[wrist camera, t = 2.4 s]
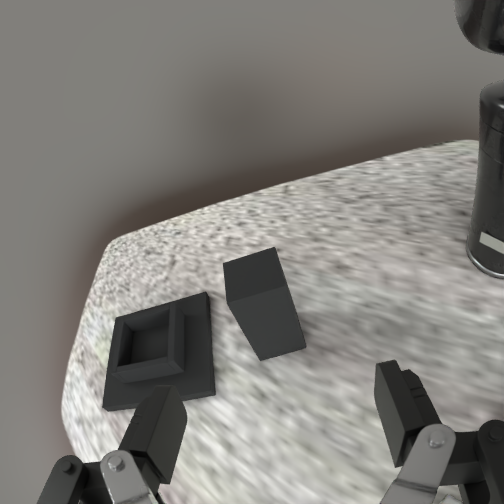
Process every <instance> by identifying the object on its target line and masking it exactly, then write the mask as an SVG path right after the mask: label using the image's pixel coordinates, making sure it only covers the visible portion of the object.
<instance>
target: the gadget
mask: <svg viewBox="0 0 504 504" xmlns="http://www.w3.org/2000/svg"><path fill="white" fill-rule="evenodd" d="M440 504H463V502H461V501H459V500H457V499H456V498H454V497H452V496H450V495H448V494H447V495H446V496H445V498H444V499H443V500H442V501H441V503H440Z"/></svg>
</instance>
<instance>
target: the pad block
mask: <svg viewBox="0 0 504 504" xmlns="http://www.w3.org/2000/svg"><path fill="white" fill-rule="evenodd" d="M223 269H224V279H225V290H226V300H227V305H228V306H229V308H230V310H231V312H232V313H233V315H234V317H235V319H236V320H237V322H238V324H239V326H240V327H241V329H242V331H243V333H244V334H245V336H246V338H247V339H248V341H249V343H250V345H251V346H252V348H253V350H254V351H255V353H256V355H257V356H258V358H259V360H260V361H262V360H265V359H269V358H273V357H276V356H280V355H283V354H287V353H290V352H294V351H297V350H300V349H304V348H306V344H305V341H304V337H303V334H302V330H301V327H300V323H299V320H298V316H297V313H296V309H295V306H294V303H293V300H292V297H291V294H290V291H289V288H288V285H287V282H286V279H285V276H284V273H283V270H282V267H281V264H280V261H279V258H278V255H277V252H276V249H275V247H273V248H269V249H266V250H263V251H260V252H257V253H254V254H251V255H247V256H244V257H241V258H238V259H235V260H232V261H229V262H225V263H223Z"/></svg>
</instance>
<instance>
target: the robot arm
mask: <svg viewBox="0 0 504 504" xmlns="http://www.w3.org/2000/svg"><path fill="white" fill-rule="evenodd" d="M453 4H454V11H455V15H456V18H457V22H458V25H459V27H460V29H461V31H462V33H463V35H464V36H465V37H466V39H467V40H468V41H469V42H470V43H471V44H472V45H474V46H475V47H477V48H478V49H481V50H483V51H487V52H489V53H494V54H499V55H504V0H453ZM466 250H467V253H468V256H469V258H470V260H471V261H472V262H473V264H474V265H475V266H476V267H477V268H478V269H480V270H481V271H482V272H484V273H486V274H488V275H490V276H492V277H496V278H500V279H504V80H501V81H498V82H495V83H491V84H489V85H487V86H485V87H484V88H483V89H482V91H481V93H480V132H479V155H478V169H477V179H476V189H475V197H474V205H473V212H472V218H471V224H470V230H469V235H468V237H467V242H466ZM374 397H375V403H376V407H377V410H378V413H379V416H380V419H381V422H382V426H383V429H384V432H385V435H386V439H387V442H388V445H389V449H390V452H391V455H392V459H393V462H394V466H395V468H396V467H400V466H403V467H402V469H401V471H400V473H399V475H398V476H397V478H396V480H394V481H393V482H392V484H391V486H390V487H389V489H388V491H387V492H386V494H385V496H384V497H383V499H382V501H381V502H380V504H432V503H433V501H434V498H435V496H436V494H437V489H438V487H439V486H445V485H458V487H459V490H460V494H461V497H462V501H463V504H504V422H503V421H500V420H491V421H488V422H486V423H484V424H483V425H482V426H481V427H480V429H479V431H473V432H455V431H453V430H452V429H451V428H450V427H448V426H446V425H443V424H442V423H441V421H440V419H439V417H438V415H437V413H436V411H435V408H434V406H433V404H432V402H431V400H430V398H429V396H428V395H427V392H426V390H425V388H423V385H422V383H421V381H420V379H419V377H418V376H417V375H416V374H415V373H413V372H412V371H411V370H409V369H408V370H404V371H401V370H400V368H399V365H398V363H397V361H396V360H391V361H386V362H381V363H377V364H376V373H375V387H374ZM130 422H131V423H130V424H129V426H128V428H127V430H126V432H125V435H124V437H123V439H122V441H121V444H120V446H119V448H118V450H115V451H112V452H110V453H108V454H107V455H105V456H104V457H103V459H102V460H101V461H100V462H91V463H83V462H82V461H81V460H80V459H79V458H78V457H76V456H73V455H69V456H64V457H62V458H61V459H59V460H58V461H57V462H56V464H55V465H54V467H53V469H52V472H51V474H50V476H49V478H48V480H47V482H46V485H45V487H44V489H43V491H42V493H41V496H40V498H39V500H38V502H37V504H78V502H79V500H80V502H79V504H166V502H165V500H164V499H163V497H162V495H161V493H160V492H159V490H158V489H159V485H160V483H161V484H170V482H171V478H172V475H173V471H174V468H175V464H176V460H177V457H178V453H179V449H180V446H181V442H182V439H183V435H184V432H185V428H186V424H187V412H186V409H185V407H184V405H183V402H182V400H181V398H180V395H179V393H178V391H177V389H176V387H175V386H174V385H157V386H155V388H154V390H153V392H152V395H151V397H145V398H144V399H143V401H142V402H141V403H140V404H139V405H138V406H137V408H136V410H135V413H134V416H133V417H132V419H131V421H130Z"/></svg>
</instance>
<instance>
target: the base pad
mask: <svg viewBox="0 0 504 504" xmlns="http://www.w3.org/2000/svg"><path fill="white" fill-rule="evenodd" d="M157 385H174V386H175V387H176V389H177V391H178V393H179V395H180V398H181V400H182V401H187V400H192V399H198V398H203V397H208V396H213V395H215V382H214V369H213V354H212V338H211V321H210V302H209V296H208V294H207V293H206V292H203V293H199V294H196V295H193V296H189V297H186V298H182V299H179V300H176V301H172V302H169V303H165V304H162V305H159V306H155V307H152V308H148V309H145V310H141V311H138V312H134V313H131V314H127V315H124V316H120V317H117V318H116V319H115V325H114V330H113V336H112V342H111V348H110V354H109V360H108V367H107V374H106V381H105V389H104V397H103V406H102V408H104V409H105V410H107V411H117V410H126V409H134V408H137V406H138V405H139V404H140V403H141V402H142V401H143V399H144V398H145V397H151V395H152V392H153V390H154V388H155V386H157Z"/></svg>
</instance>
